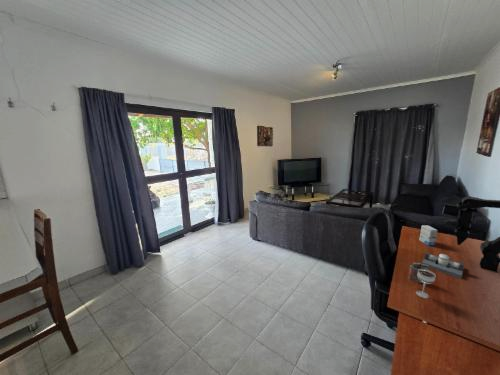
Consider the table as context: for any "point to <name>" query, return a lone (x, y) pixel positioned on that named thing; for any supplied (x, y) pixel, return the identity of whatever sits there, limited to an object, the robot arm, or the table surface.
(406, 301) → the table surface
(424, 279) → the wineglass
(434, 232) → the ink box
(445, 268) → the shaft mount
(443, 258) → the coupler
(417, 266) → the grey box
